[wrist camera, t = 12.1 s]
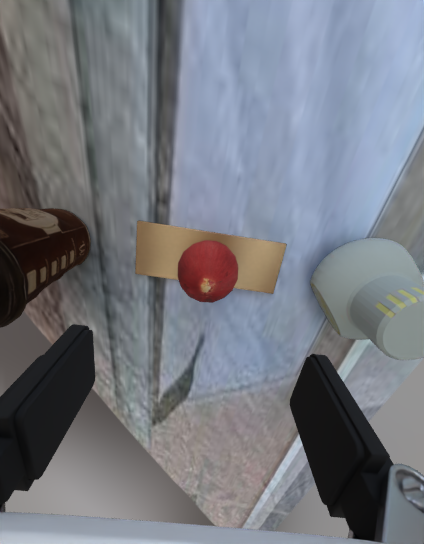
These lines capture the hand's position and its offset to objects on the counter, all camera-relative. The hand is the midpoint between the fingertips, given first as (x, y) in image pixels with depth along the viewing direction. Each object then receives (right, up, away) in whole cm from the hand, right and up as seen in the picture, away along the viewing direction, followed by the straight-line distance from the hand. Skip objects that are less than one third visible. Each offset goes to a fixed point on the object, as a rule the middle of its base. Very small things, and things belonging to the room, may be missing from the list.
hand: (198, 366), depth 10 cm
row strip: (0, +6, +16) cm, 17 cm away
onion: (0, +6, +16) cm, 17 cm away
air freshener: (+16, +3, +17) cm, 24 cm away
